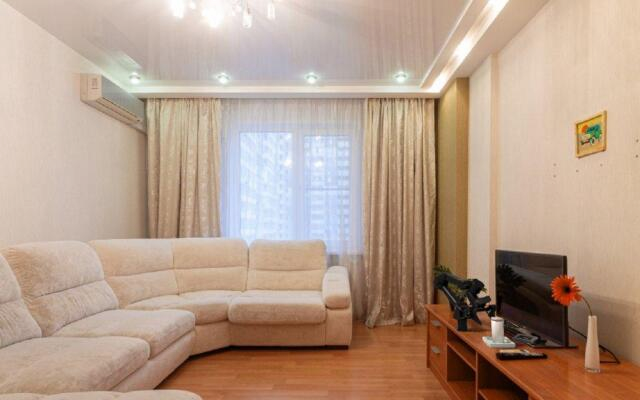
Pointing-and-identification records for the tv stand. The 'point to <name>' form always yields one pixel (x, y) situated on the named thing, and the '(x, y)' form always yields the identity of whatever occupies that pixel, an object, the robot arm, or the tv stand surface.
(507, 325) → the door stopper
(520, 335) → the collar
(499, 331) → the stop cylinder
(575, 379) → the tv stand surface
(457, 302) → the robot arm
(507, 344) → the tray
